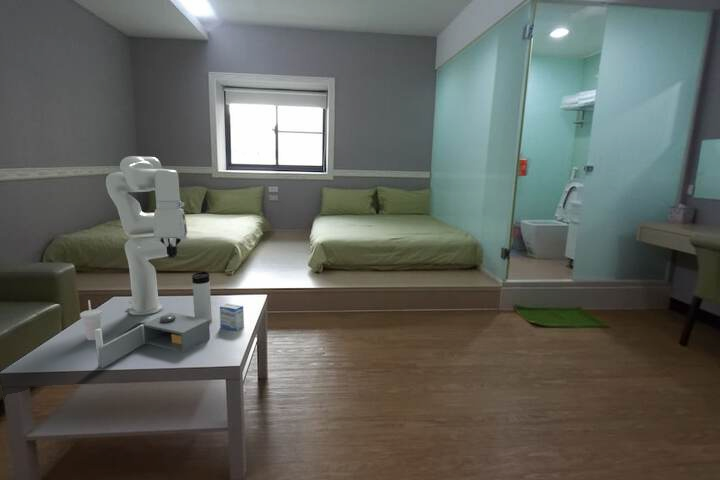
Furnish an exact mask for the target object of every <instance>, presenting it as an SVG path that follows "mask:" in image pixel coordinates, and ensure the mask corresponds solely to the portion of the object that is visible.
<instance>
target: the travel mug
mask: <svg viewBox="0 0 720 480" xmlns="http://www.w3.org/2000/svg"><path fill="white" fill-rule="evenodd" d="M191 276H192V277H191V280H192V294H193V295H192V296H193V312H194V317H197V318H202V319H207V320H209V324H211V322H212V321H213V319H212V300H211V299H212V298H211V283H210V282H211V281H210V273H209V272H208V271H207V270H205V271H199V272H196V273H194V274H192V275H191Z"/></svg>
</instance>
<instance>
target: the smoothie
mask: <svg viewBox="0 0 720 480" xmlns="http://www.w3.org/2000/svg"><path fill="white" fill-rule="evenodd" d="M87 302H88V310H84V311H82V312H80V313H79V318H81V322H82V324H83V327H84V331H85V335H86V339H87V341H95V332H94V330H95V329H101V317H102V314H103V313H102V309H98V308H97V309H96V308H95V309H94V308H93V309H92V307H91V300H90V299H88V300H87Z"/></svg>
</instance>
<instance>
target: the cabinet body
mask: <svg viewBox="0 0 720 480" xmlns="http://www.w3.org/2000/svg"><path fill="white" fill-rule="evenodd" d="M143 323H144V324H143V327H144V338H145V344H146V345H152V346H156V347H159V348H164V349H168V350H172V351H177V352H181V353H186V352H188V351H190V350H191V349H193V348H195V347H197V346H198V345H200V344H202V343H204V342H206V341H208V340H209V339H211V333H210V323H209V320H207V319H202V318H197V317H195V316H189V315H186V314H185V315H184V314H179V313H176V312H168V313H166V314H164V315H161V316H159V317H156V318H155V319H152V320H149V321H147V322H143Z"/></svg>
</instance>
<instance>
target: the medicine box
mask: <svg viewBox="0 0 720 480" xmlns="http://www.w3.org/2000/svg"><path fill="white" fill-rule="evenodd" d="M219 323H220V325H219V327H220V329H225V330H230V331H240V330H242V329H243V328H244V327H245V316H244V306H243V305H238V304H231V303H224V304H222V305H221V306H219Z"/></svg>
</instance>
